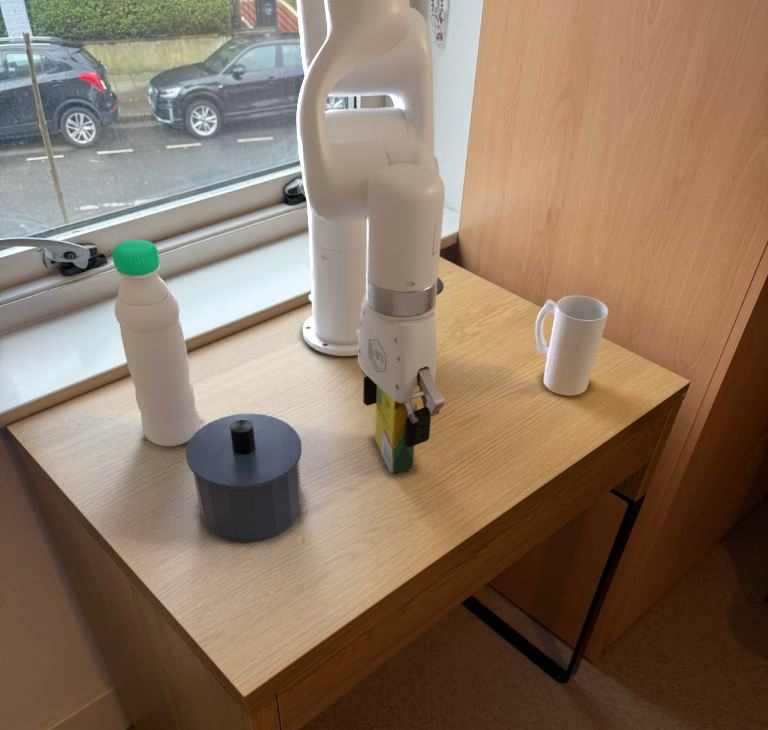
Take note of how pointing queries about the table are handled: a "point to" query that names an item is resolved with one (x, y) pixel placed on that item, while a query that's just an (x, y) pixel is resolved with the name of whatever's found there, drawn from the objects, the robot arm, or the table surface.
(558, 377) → the mug
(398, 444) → the crayon box
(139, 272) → the water bottle
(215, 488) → the pot
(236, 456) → the pot lid
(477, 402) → the table surface
